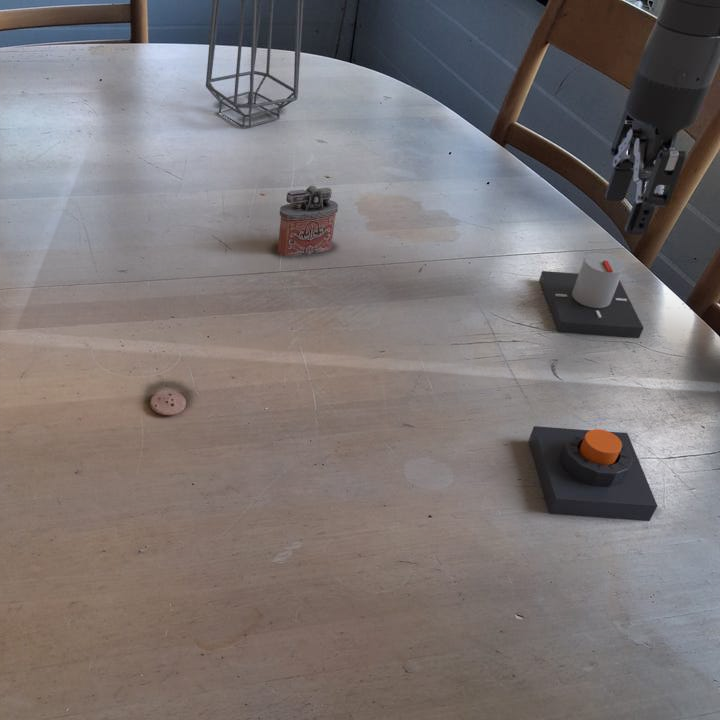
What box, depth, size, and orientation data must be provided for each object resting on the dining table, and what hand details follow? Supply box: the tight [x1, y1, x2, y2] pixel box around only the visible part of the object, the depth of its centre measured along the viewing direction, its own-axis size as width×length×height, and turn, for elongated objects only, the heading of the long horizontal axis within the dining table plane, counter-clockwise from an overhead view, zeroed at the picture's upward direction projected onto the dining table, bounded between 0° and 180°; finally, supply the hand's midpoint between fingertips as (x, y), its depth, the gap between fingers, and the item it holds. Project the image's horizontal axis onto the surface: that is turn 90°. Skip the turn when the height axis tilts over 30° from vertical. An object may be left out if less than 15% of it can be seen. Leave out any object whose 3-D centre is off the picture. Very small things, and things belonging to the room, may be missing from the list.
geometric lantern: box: [205, 0, 304, 128], centre depth 145 cm, size 16×16×35 cm
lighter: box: [277, 185, 339, 257], centre depth 119 cm, size 8×3×10 cm, turn 111°
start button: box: [580, 428, 622, 465], centre depth 90 cm, size 4×4×2 cm
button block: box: [528, 425, 658, 522], centre depth 92 cm, size 10×11×4 cm
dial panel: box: [538, 270, 644, 339], centre depth 115 cm, size 10×12×3 cm
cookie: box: [149, 390, 187, 416], centre depth 98 cm, size 4×4×1 cm
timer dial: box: [572, 252, 625, 308], centre depth 112 cm, size 5×5×5 cm
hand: (623, 215), depth 106 cm, fingers open, 8 cm apart
